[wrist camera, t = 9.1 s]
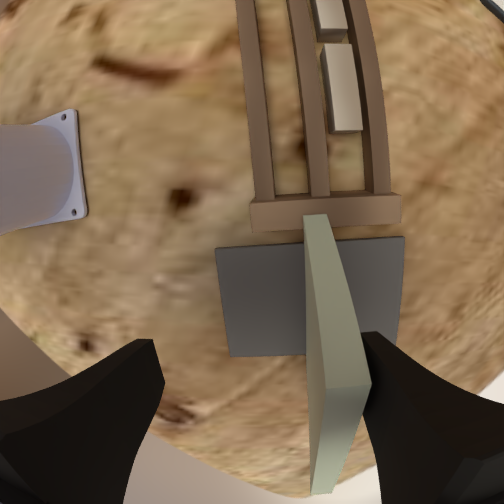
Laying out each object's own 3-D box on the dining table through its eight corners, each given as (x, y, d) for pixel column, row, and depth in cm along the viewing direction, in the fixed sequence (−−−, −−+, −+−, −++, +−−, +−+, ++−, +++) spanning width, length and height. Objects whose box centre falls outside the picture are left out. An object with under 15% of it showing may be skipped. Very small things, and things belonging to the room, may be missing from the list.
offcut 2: (328, 134, 18) (335, 130, 15) (319, 57, 16) (324, 43, 14) (352, 133, 17) (362, 129, 15) (343, 57, 16) (351, 43, 14)
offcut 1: (317, 43, 16) (321, 28, 14) (305, -18, 15) (307, -37, 12) (340, 43, 16) (348, 28, 13) (328, -18, 14) (332, -36, 12)
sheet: (306, 365, 22) (310, 494, 14) (303, 215, 16) (326, 388, 7) (322, 364, 22) (331, 493, 13) (326, 213, 16) (371, 384, 7)
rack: (256, 221, 19) (252, 232, 17) (227, -60, 14) (220, -83, 11) (384, 213, 18) (401, 223, 16) (339, -65, 13) (344, -87, 10)
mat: (231, 353, 22) (230, 356, 22) (215, 248, 20) (214, 249, 20) (393, 342, 21) (395, 345, 21) (402, 236, 19) (404, 237, 18)
